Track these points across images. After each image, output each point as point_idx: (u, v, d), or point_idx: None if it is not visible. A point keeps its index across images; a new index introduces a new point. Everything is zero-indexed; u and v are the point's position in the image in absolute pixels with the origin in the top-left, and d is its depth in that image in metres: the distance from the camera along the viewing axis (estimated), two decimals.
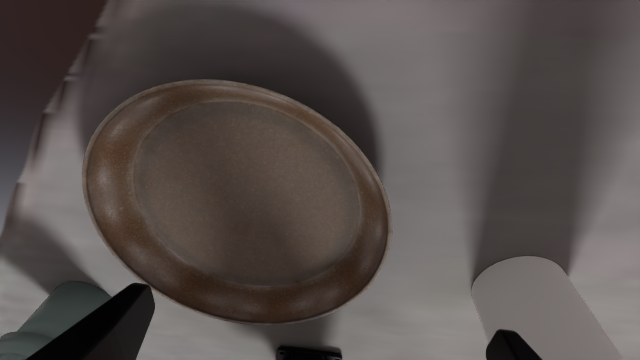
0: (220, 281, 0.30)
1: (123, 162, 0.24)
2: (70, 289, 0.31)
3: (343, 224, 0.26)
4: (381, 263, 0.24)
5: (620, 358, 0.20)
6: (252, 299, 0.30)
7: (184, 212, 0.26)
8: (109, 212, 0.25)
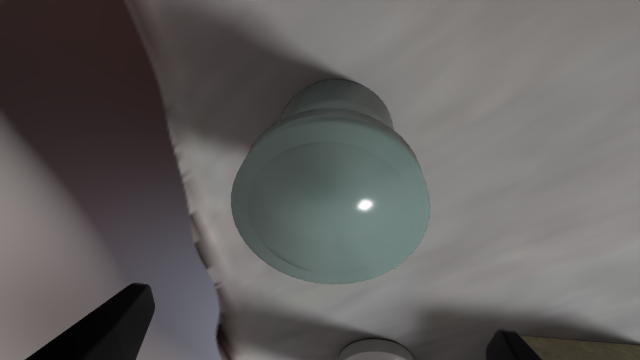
0: None
1: None
2: (295, 100, 0.17)
3: None
4: None
5: None
6: None
7: None
8: None
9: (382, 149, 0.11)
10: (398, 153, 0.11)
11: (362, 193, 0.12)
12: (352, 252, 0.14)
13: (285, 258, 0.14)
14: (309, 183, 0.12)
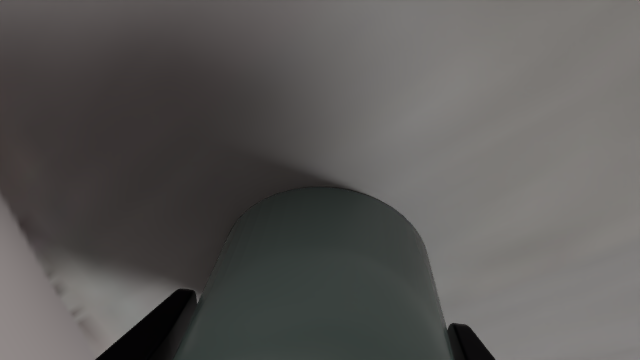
0: None
1: None
2: (241, 231, 0.09)
3: None
4: None
5: None
6: None
7: None
8: None
9: None
10: None
11: None
12: None
13: None
14: None
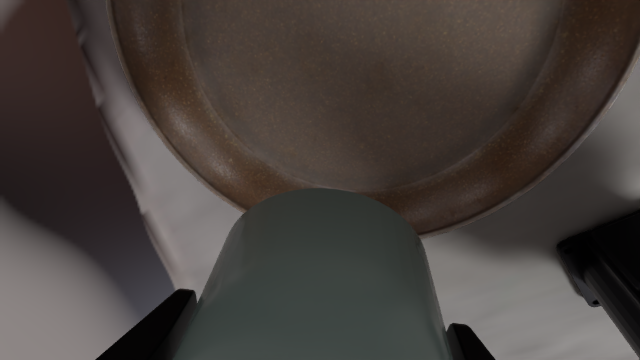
0: (406, 189, 0.20)
1: (190, 94, 0.17)
2: (240, 232, 0.09)
3: None
4: None
5: None
6: (466, 183, 0.19)
7: (297, 115, 0.18)
8: (220, 170, 0.19)
9: None
10: None
11: None
12: None
13: None
14: None
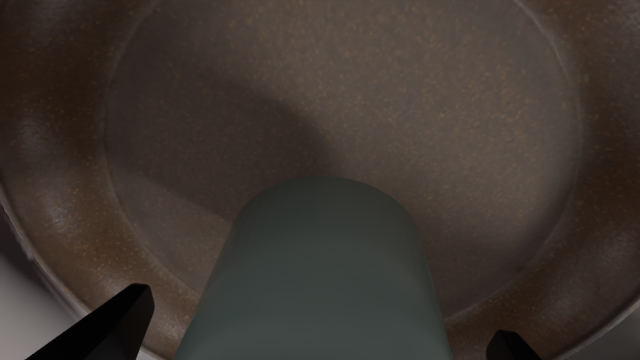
0: None
1: (131, 256, 0.15)
2: (246, 217, 0.09)
3: (526, 93, 0.10)
4: None
5: None
6: (464, 341, 0.16)
7: None
8: (173, 333, 0.16)
9: None
10: None
11: None
12: None
13: None
14: None
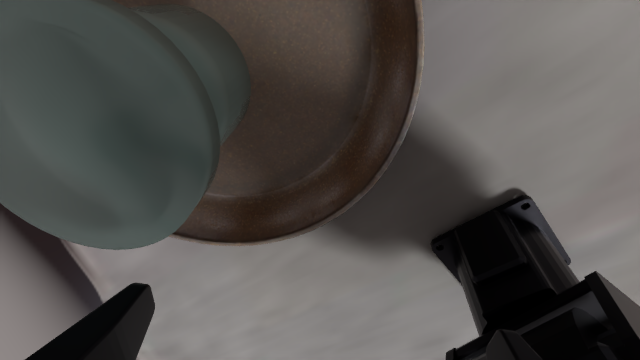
0: (279, 193, 0.21)
1: None
2: None
3: None
4: None
5: None
6: (325, 186, 0.20)
7: None
8: None
9: (108, 39, 0.08)
10: (132, 47, 0.08)
11: (102, 111, 0.09)
12: (115, 203, 0.10)
13: (32, 205, 0.10)
14: (27, 88, 0.09)
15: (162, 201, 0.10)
